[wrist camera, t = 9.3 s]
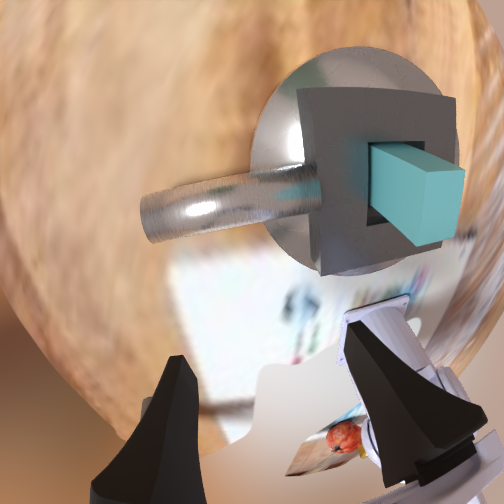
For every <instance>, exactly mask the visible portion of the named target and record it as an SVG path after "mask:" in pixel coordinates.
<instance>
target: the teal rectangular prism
mask: <svg viewBox="0 0 504 504" xmlns="http://www.w3.org/2000/svg"><path fill="white" fill-rule="evenodd" d="M464 177H465V170H464V169H462V168H460V167H458V166H456V165H454V164H452V163H450V162H448V161H446V160H443V159H441V158H439V157H437V156H434V155H432V154H430V153H427V152H425V151H422V150H420V149H418V148H415V147H412V146H410V145H407V144H405V143H402V142H399V141H386V142H368V203H369V204H370V205H371V206H372V207H374V208H375V209H376V210H377V211H378V212H379V213H381V214H382V215H383V216H384V217H385V218H386V219H387V220H388V221H390V222H391V223H392V224H393V225H394V226H395V227H396V228H397V229H398V230H400V231H401V232H402V233H403V234H404V235H405V236H406V237H407V238H408V239H409V240H410V241H411V242H412V243H413V244H414V245H415V246H416V247H418V246H422V245H426V244H430V243H434V242H438V241H442V240H446V239H449V238H453V237H454V235H455V230H456V226H457V221H458V216H459V210H460V205H461V199H462V192H463V185H464Z"/></svg>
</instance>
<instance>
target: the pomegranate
mask: <svg viewBox="0 0 504 504" xmlns="http://www.w3.org/2000/svg"><path fill="white" fill-rule="evenodd" d="M361 430H362V429H361V427H359V426H357V425H355V424H354V423H352V422H351V421H344V422H340V423H338V424H337V425H336V426H334V427H332V428H331V429H330V430H329V431H328V433H327V436H326V441H327V444H328V445H329V447H331V448H332V449H333V450H332V452H337V453H344V452H345V453H350V452H353V451H354V450H357V449H358V447H359V446H360V445H361V444H362V438H361Z"/></svg>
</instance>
